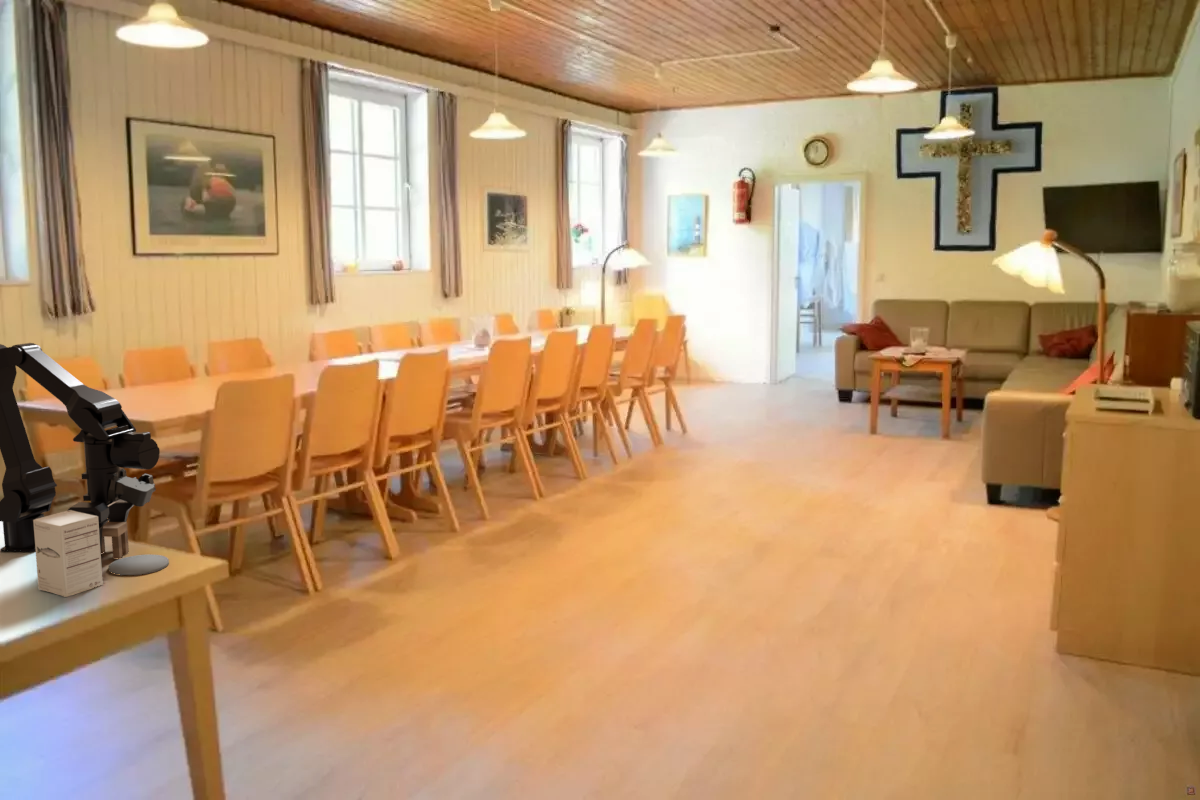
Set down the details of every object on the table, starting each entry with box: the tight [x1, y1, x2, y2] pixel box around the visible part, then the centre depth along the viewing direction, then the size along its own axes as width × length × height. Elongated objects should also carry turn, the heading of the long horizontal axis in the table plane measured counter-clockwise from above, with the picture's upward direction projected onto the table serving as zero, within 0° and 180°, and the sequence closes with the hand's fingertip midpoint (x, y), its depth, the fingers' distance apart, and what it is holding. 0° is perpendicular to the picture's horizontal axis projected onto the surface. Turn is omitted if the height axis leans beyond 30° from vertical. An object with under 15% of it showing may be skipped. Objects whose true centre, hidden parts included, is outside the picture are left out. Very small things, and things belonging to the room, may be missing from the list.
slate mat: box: [108, 553, 170, 576], centre depth 183 cm, size 10×10×1 cm
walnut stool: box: [101, 521, 130, 559], centre depth 189 cm, size 6×4×6 cm
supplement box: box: [33, 510, 103, 598], centre depth 171 cm, size 7×7×13 cm
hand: (108, 546), depth 189 cm, fingers open, 9 cm apart
